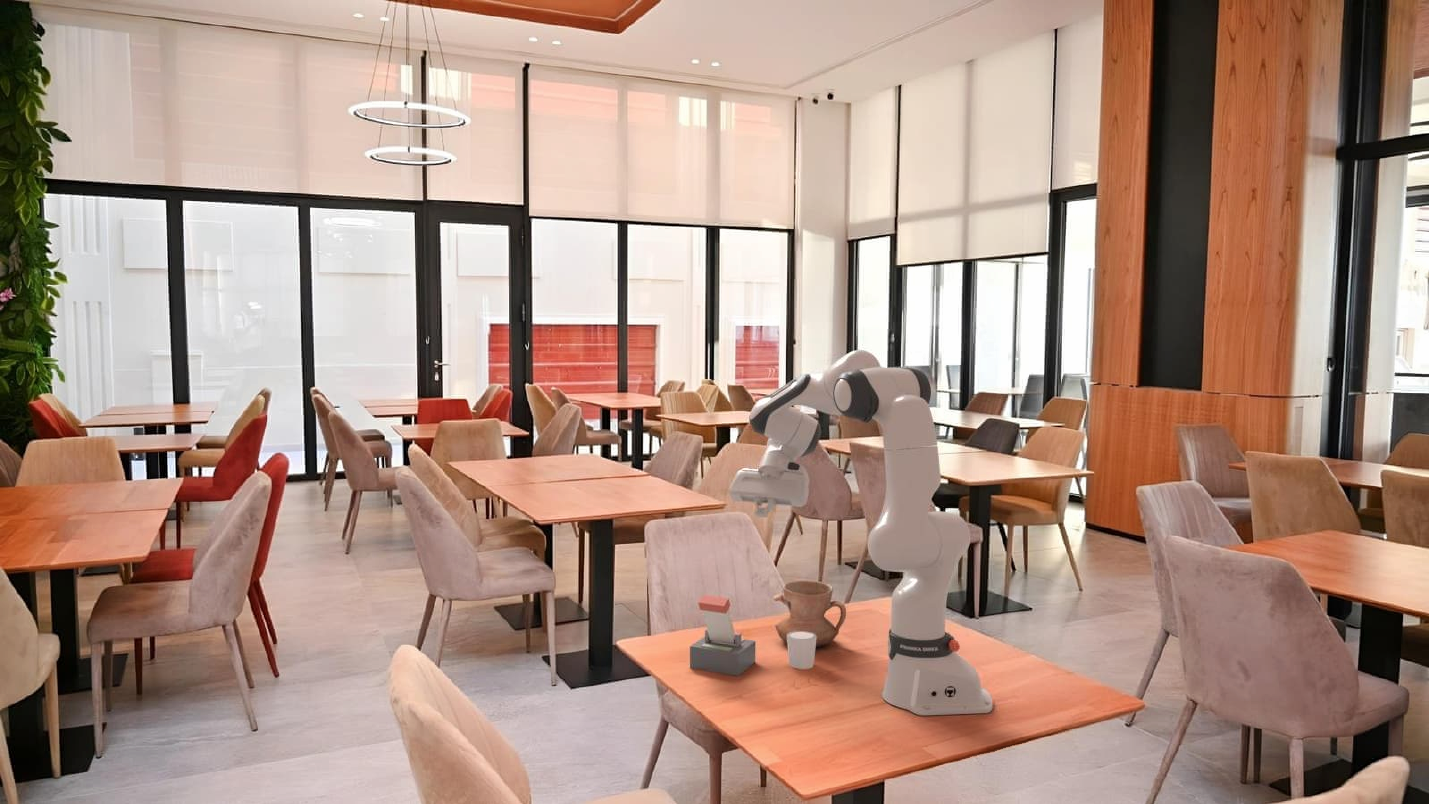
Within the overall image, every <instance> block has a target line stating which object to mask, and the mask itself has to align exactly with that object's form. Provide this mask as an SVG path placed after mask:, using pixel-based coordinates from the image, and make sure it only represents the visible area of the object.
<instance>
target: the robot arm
mask: <svg viewBox="0 0 1429 804" xmlns="http://www.w3.org/2000/svg"><path fill="white" fill-rule="evenodd" d="M931 397H932V386H931V383H930V380H929V379H928V376H927V375H926V374H925V373H924V372H923V371H922V370H919V369H916V368H914V367H913V368H912V367H909V366H908V367H907V366H894V367H883V366H881V363H880V362H879V360H878V358H877V357H876V356H875V355H874V354H873V353H871V352H869V351H867V350H865V349H857V350H855V349H854V350H852V351H850V352H848V353H846V354H845V355H843V356H842V357H840V358H838V359H837V360H836V361H835V362H833V364H831V365H830V366H829V367H828V368H827V369H826V370H823V371H821V372H817V373H815V372H814V373H807V374H806V373H805V374H800V375H798V376H797V377H795V378H794V379H792V380H790V381H789V382H787V383H786V384H784V385H783V386H781V387H780V388H779V389H777V390H775V391H774V392H772V393H770V394H768V395H764V396H762V397H760V398H759V400H757V402H756V403H755V404H754V405H753V406H752V409H751V411H750V413H749V417H748V419H749V423H750V426H751V429H752V431H753V432H755V433H757V434H759V435H762V436H765V437H768V439H767V442H766V449H765V452H764V453H763V454H762V455H761V456H762V457H761V459H760V461H759V465H758V467H757V468H758V469H757V468H756V469H754V468H751V469H749V468H743V469H741V470H738V471H737V472H736V473H735V476H734V478H733V480H732V483H731V484H730V486H729V489H728V493H729V495H730V498H731V499H732V500H733V501H734V502H745V503H753V504H754V505H755V511H754V515H755V517H757V518H758V517H760V518H768V516H769V513H771V512H772V511H773V510H774V509H775V508H776V506H777V505H778V506H788V507H800V508H802V507H805V505H807V502H808V498H809V494H810V493H809V492H810V487H809V484H810V477H809V474H808V472H807V469H806V467H805V466H804V465H803V464H801V463H798V462H796V461H797V459H798V458H802V457H806V456H807V455H808V456H809V455H810V454H812V453H813V452H814V451H815V450H816V448H817V446H818V443H819V440H820V438H821V435H822V429H821V427H822V426H821V424H820V422H819V420H817V419H816V418H814V417H813V416H811V415H808V413H805V412H803V411H800V410H798V409H797V408H795V407H793V406H803V407H807V408H810V409H813V410H816V411H819V412H822V413H824V414H827V415H831V416H841V415H843V416H844V417H847V418H848V419H852V420H853V419H854V420H856V421H857V420H858V421H861V422H862V423H865V424H868V423H870V421H871V420H875V421H876V422H878V423H879V425H880V427H881V430H882V437H883V438H882V442H883V450H884V451H883V453H884V466H885V483H886V484H885V485H886V487H885V488H886V489H885V496H884V502H883V507H882V510H881V512H880V516H879V518H878V520H877V522H876V524H875V526H874V527H873V528H872V529H871V530H870V532H869V534H868V537H867V550H868V554H869V558H870V559H871V561H872V563H873V564H874V565H875V566H876V567H877V568H878V569H880V570H882V571H885V572H886V571H887V572H893V573H894V572H896V573H897V572H898V573H901V572H902V573H904V575H903V577H902V579H901V580H900V583H899V584H898V585H897V586H896V587H895V588H894V590H893V592H892V596H891V614H890V615H891V618H890V620H891V621H890V629H889V631H888V637H887V654H888V658H889V660H888V668H887V673H886V677H885V678H886V679H885V682H884V686H883V689H882V693H881V697H882V699H883V700H885V702H887V703H888V704H891V706H892V705H893V706H895V707H898V708H901V709H905V710H908V711H909V712H911V713H914V714H916V715H918V716H937V715H938V716H940V715H941V716H944V715H962V714H963V715H966V714H968V715H969V714H972V715H973V714H988V713H990V712H991V711H992V710H993V708H994V704H993V703H994V702H993V698H992V696H991V695H990V692H988V690H986V688H984V687H982V682H981V678H980V674H979V673H978V671H977V669H976V668H975V666H973V665H972V664H971V663H970V662H969V661H967V660H966V659H965V658H964V657H962V656H961V655H960V654H958V653H957V652H958V651H959V650H960V648H961V646H960V644H959V641H957V640H956V639H955V637H954V636H953V635H952V634H951V633H950V632H949V631H948V632H947V631H946V613H947V598H948V593H949V589H950V586H951V584H952V583H951V582H952V579H953V577H954V574H955V571H956V568H957V566H958V563H959V561H961V558H962V557H963V555H964V554H965V553H966V552H967V550H968V549H969V546H970V544H971V538H972V537H971V531H970V528H969V525H968V523H967V522H966V520H965V519H964V518H963V517H961V516H960V515H959V514H957V513H954V512H948V511H939V510H938V511H936V510H935V511H930V507H931V506H930V505H931V502H932V498H933V496H934V495H935V493H936V492H937V490H938V489H939V487H940V486H941V482H942V478H941V467H940V459H939V458H940V457H939V447H938V438H937V433H936V431H937V430H936V427H935V423H934V419H933V414H932V412H931V409H930V405H929V404H930V401H931ZM763 504H765V505H766V506H765V507H761V506H762V505H763Z"/></svg>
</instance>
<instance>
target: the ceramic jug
mask: <svg viewBox="0 0 1429 804" xmlns="http://www.w3.org/2000/svg"><path fill="white" fill-rule="evenodd" d="M782 593H783V594H776V595H774V596H773V600H774V601H775V602H777V601H778V602H781V603H782V604H784V605H785V606H786V607H787V609H788V611H789V615H788V616H786V617H784V618H783V619H781V621H780V622H777V624H775V625H774V626H775V630H776V631H777V635H778V637H779V638H780V639H781V640H782V641H783V642H785V643H787V634H788V633H790V632H794V631H806V632H811V633H814V634H816V636H817V638H816V647H822V646H825V645H828V644H830V643H831V642H833V641H834V640H835V639H836V637H837V636H838V635H839V632H840V631H839V630H840V629H841V627H842V625H843V624H844V623H845V621H846V616H847V609H846V606H845V604H844V603H843V602H841V601H839V600H833V601H831V600H832V596H833V593H834V592H833V587H832V585H830V584H828V583H826V582H821V581H818V580H817V581H816V580H809V579H808V580H806V579H805V580H793V581H788V582H785V583H784V585H783V586H782ZM833 607H834V608H835V607H837V608H839V609H840V617H839V618H838V619H839V620H838V622H837V624H836V626H835V625H834V623H832V622H831V621H830V620H829V619H828V618H826V616H825V614H826V612H827V611H829V610H830V609H831V608H833ZM816 647H815V648H816Z"/></svg>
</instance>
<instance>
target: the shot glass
mask: <svg viewBox="0 0 1429 804" xmlns="http://www.w3.org/2000/svg"><path fill="white" fill-rule="evenodd" d="M816 638H817V636H816V634H814V633H811V632H806V631H794V632H790V633H788V634H787V642H786V643H787V655H788V665H789V667H791V668H792V669H796V668H797V670H808V669H811V668H813V667H814V665H815V656H816Z"/></svg>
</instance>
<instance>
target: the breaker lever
mask: <svg viewBox="0 0 1429 804" xmlns="http://www.w3.org/2000/svg"><path fill="white" fill-rule="evenodd" d="M698 607H699V611H702V614H703V618H704V622H705V626H706V629H707V631H708V634H709V638H710V640H711V641H716V642H723V643H729V644H735V635H736V632H735V628H734V624H733V619H732V616H731V612H730V607H731V603H730V599H729V598H728V597H722V596H717V595H716V596H715V595H714V596H713V595H707V594H702V595H701V597H700V599H699V600H698Z"/></svg>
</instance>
